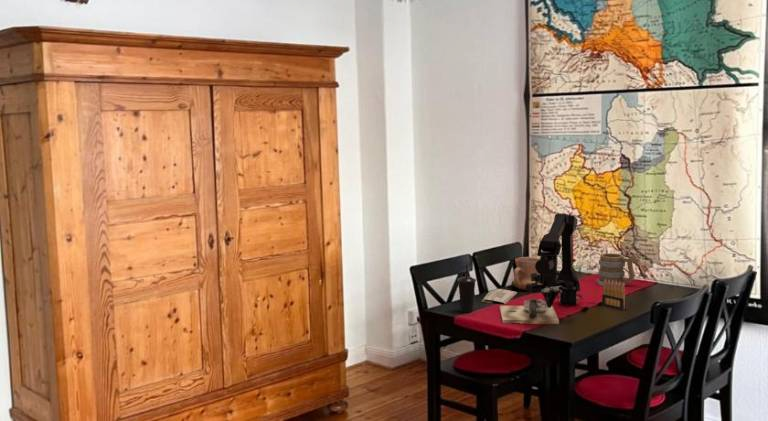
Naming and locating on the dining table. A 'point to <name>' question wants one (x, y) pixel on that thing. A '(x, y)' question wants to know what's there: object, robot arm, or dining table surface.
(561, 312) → the dining table surface
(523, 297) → the dining table surface
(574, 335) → the dining table surface
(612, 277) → the tankard
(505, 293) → the newspaper
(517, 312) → the birch board
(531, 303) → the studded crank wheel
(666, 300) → the dining table surface
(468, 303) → the drinking cup
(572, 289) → the robot arm
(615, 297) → the ammunition clip
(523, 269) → the ceramic jug
